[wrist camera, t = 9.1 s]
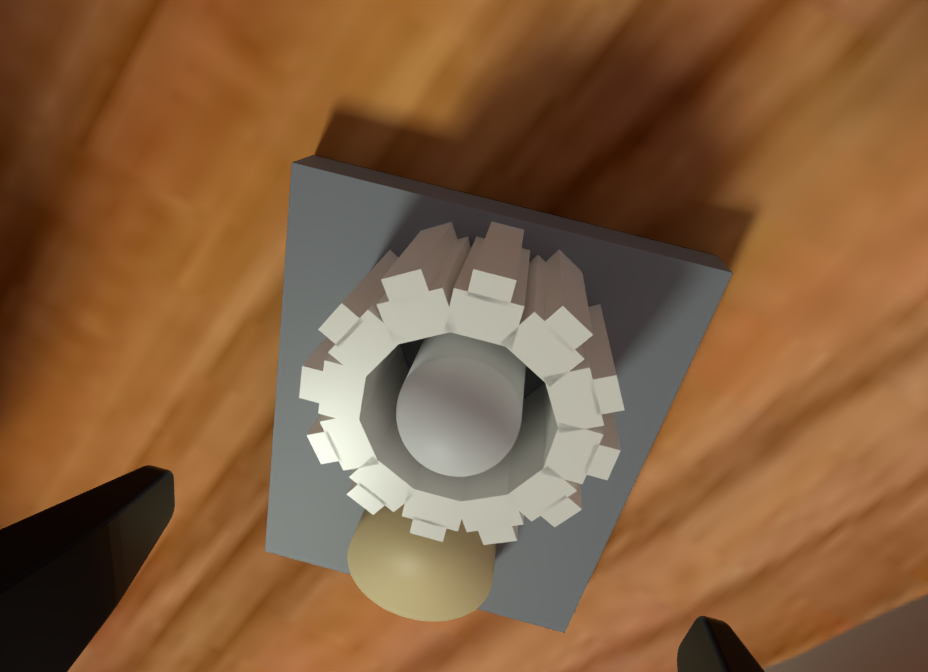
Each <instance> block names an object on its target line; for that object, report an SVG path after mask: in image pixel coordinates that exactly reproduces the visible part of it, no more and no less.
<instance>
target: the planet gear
mask: <svg viewBox="0 0 928 672" xmlns="http://www.w3.org/2000/svg"><path fill="white" fill-rule="evenodd" d="M523 236H524V230H523V229H519V228H516V227H512V226H508V225H504V224H500V223H496V222H491V224H490V227H489V229H488V232H487V235H486V237H485V238H481V237H477V236H476V239H475V241H474V243H473V245H472V248H471V245H470V242H469V238H468V237H464V238H460V239H457V236H456V233H455V230H454V227H453V224H452V222H449V223H446V224H442V225H439V226H435V227H432V228H428V229H424V230H421V231H420V232H419V233H418V235H417V236H416V237H415V238H414V240H413V241H412V242H411V243H410V245H409V246H408V247H407V248H406V249H405V251H404V252H403V253H402V254H401V256H400V257H397V256H396V255H395V254H394V253H393V252H392V251H391V250H389V251H388V252H387V253H386V255H385V256H384V257H383V258H382V259H381V260H380V261H379V262H378V263H377V264H376V266H375V267H374V268H373V269H372V270H371V271H370V272H369V273H368V274H367V276H366V277H365V278H364V279H363V280H362V281H361V282H360V283H359V284H358V285H357V287H356V288H355V289H354V290H353V291H352V292H351V293H350V294H349V295H348V297H347V298H346V299H345V300H344V301H343V302H342V303H341V304H340V305H339V307H338V308H337V309H336V310H335V311H334V312H333V313H332V314H331V316H330V317H329V318H328V319H327V320H326V321H325V322H324V323H323V324H322V326H321V327H320V328H319V329H318V330H319V331H320V332H322V333H323V334H324V335H325V336H326V338H325V339H324V341H323V342H322V343H321V344H320V345H319V346H318V348H317V349H316V350H315V351H314V352H313V354H312V355H311V356H310V357H309V358H308V359H307V361H306V362H305V363H304V364H303V365H302V372H301V383H300V393H299V398H301V399H305V400H309V401H313V402H316V403H319V410H318V414H320V416H319V417H318V419H317V420H316V422H315V423H314V425H313V426H312V428H311V429H310V431H309V432H308V434H307V437H308V439H309V441H310V443H311V445H312V447H313V449H314V451H315V453H316V455H317V457H318V459H319V461H320V463H321V464H325V463H331V462H337V461H339V463H340V465H341V467H342V469H343V471H344V470H350V469H353V470H352V472H351V474H350V476H349V478H350V479H352V480H353V482H352V484H351V486H350V488H349V490H348V492H347V495H348V496H349V497H350V498H352V499H353V500H354V501H356V502H357V503H358V504H360V505H361V506H362V507H363V508H365V509H366V510H367V511H369V512H370V513H371V514H372V515H374V514H375V513H376V512H377V511H379V510H380V509H381V508H382V507H383V506H386V507H388V508H389V509H390V510H391V511H393V512H395V511H396V510H397V509H398V508H400V507H401V506H402V505H403V504H404V508H403V513H402V516H403V517H406V518H410V519H413V521H412V525H411V529H410V533H412V534H415V535H419V536H423V537H426V538H430V539H434V540H437V541H441V542H443V539H444V536H445V532H446V529H450V530H454V531H458V529H459V526H460V523H461V519H462V521H463V524H464V526H465V529H466V531H467V532H472V531H478V532H479V535H480V537H481V540H482V543H483V545H488V544H496V543H504V542H512V541H517V536H518V525H524V516H526V517H527V518H528V519H529V520H530V521H533V520H535V519H536V518H538V517H539V516H541V517H543V518H544V519H545V520H546V521H547V522H549V523H550V524H551V525H552V526H553V527H556V526H558V525H559V524H561V523H562V522H564V521H565V520H567V519H568V518H570V517H571V516H573V515H574V514H576V513H578V512H579V511H581V510H582V502H581V490H580V484H583V482H584V480H585V477H586V475H589V476H593V477H597V478H600V479H604V480H608V478H609V476H610V474H611V471H612V469H613V467H614V465H615V462H616V460H617V458H618V455H619V453H620V451H621V449H620V444H619V439H618V434H617V429H616V424H615V418H614V413H613V412H618V411H624V405H623V401H622V397H621V392H620V388H619V383H618V379H617V375H616V370H615V366H614V361H613V357H612V353H611V348H610V344H609V340H608V335H607V331H606V326H605V322H604V318H603V313H602V309H601V305H600V304H599V305H594V306H590V307H588V302H587V296H586V291H585V285H584V279H583V273H582V271H581V270H580V269H579V268H578V267H577V266H576V265H575V264H574V263H573V262H572V261H571V260H570V259H569V258H568V257H567V256H566V255H565V254H563V253H562V252H561V251H560V250H558V251H557V252H556V253H555V254H554V255H552V256H551V257H550V258H549V259H548V260H547V261H546V262H545V261H544V260H543V259H542V258H541V257H540V256H539V255H537V256H536V257H534V258H533V259H532V260H531V261H530V262H529V258H530V250H527V249H524V248H522V242H523ZM449 332H452V333H456V334H459V335H463V336H467V337H471V338H475V339H478V340H482V341H486V342H490V343H494V344H497V345H501V346H505V347H506V348H508V349H509V350H510V351H511V352H512V353H513V354H514V355H515V356H516V357H517V358H519V359H520V360H521V361H522V362H523V363H524V364H525V365H526V366H527V367H528V368H530V369H531V370H532V371H533V372H534V373H535V374H536V375H537V376H538V377H539V378H541V379H542V380H543V381H544V384H542V385H541V386H540V387H539V388H537V389H536V390H535V391H534V392H532V393H531V394H530V395H529V396H527V397H526V398H525V399H524V400H523V409H522V422H521V427H520V431H519V434H518V437H517V439H516V441H515V443H514V445H513V447H512V448H511V450H510V451H509V452H508V454H507V455H506V456H505V457H504V458H503V459H502V460H501V461H500V462H499V463H498V464H496V465H495V466H493V467H492V468H490V469H488V470H486V471H484V472H482V473H479V474H476V475H472V476H466V477H453V476H447V475H442V474H439V473H436V472H434V471H432V470H430V469H428V468H426V467H425V466H423V465H422V464H420V463H419V462H418V461H417V460H416V459H415V458H414V457H413V456H412V455H411V454H410V452H409V451H408V450H407V448H406V447H405V445H404V443H403V441H402V439H401V436H400V434H399V431H398V426H397V420H396V408H397V400H398V397H399V393H400V390H401V388H402V386H403V383H404V381H405V379H406V377H407V375H408V373H409V371H410V369H409V367H408V364H407V362H406V359H405V357H404V354H403V352H402V349H401V346H400V344H402V343H406V342H410V341H415V340H419V339H423V338H428V337H432V336H436V335H441V334H445V333H449Z"/></svg>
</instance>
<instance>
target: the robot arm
mask: <svg viewBox="0 0 928 672" xmlns="http://www.w3.org/2000/svg"><path fill="white" fill-rule="evenodd" d="M174 507H175V499H174V477H173V474H172V472H171V471H169V470H167V469H163V468H159V467H155V466H151V465H148V466H144V467H141V468H139V469H136V470H134V471H132V472H130V473H127V474H125V475H123V476H121V477H118V478H116V479H114V480H112V481H109V482H107V483H105V484H102V485H100V486H98V487H96V488H93V489H91V490H89V491H87V492H84V493H82V494H80V495H78V496H75V497H73V498H71V499H69V500H66V501H64V502H62V503H60V504H57V505H55V506H53V507H50V508H48V509H46V510H44V511H41V512H39V513H37V514H35V515H32V516H30V517H28V518H26V519H23V520H21V521H19V522H17V523H14V524H12V525H10V526H8V527H5V528H3V529H1V530H0V672H67V671H68V670H69V669H70V667H71V666H72V665H73V663H74V662H75V661H76V659H77V658H78V657H79V655H80V654H81V653H82V651H83V650H84V649H85V648H86V646H87V645H88V644H89V642H90V641H91V640H92V638H93V637H94V636H95V634H96V633H97V632H98V630H99V629H100V628H101V626H102V625H103V624H104V623H105V621H106V620H107V619H108V617H109V616H110V614H111V613H112V612H113V610H114V609H115V608H116V606H117V605H118V603H119V602H120V600H121V599H122V597H123V596H124V594H125V592H126V591H127V589H128V588H129V586H130V584H131V583H132V581H133V580H134V578H135V576H136V575H137V573H138V572H139V570H140V568H141V567H142V565H143V563H144V562H145V560H146V559H147V557H148V555H149V554H150V552H151V550H152V549H153V547H154V546H155V544H156V542H157V541H158V539H159V537H160V536H161V534H162V533H163V531H164V529H165V528H166V526H167V524H168V523H169V521H170V519H171V517H172V515H173V512H174ZM677 667H678V672H764V670H763V669H762V668H761V666H760V665H759V664H758V662H757V661H756V660H755V658H754V657H753V656H752V655H751V653H750V652H749V651H748V649H747V648H746V647H745V645H744V644H743V643H742V642H741V640H740V639H739V638H738V636H737V635H736V634H735V632H734V631H733V630H732V629H731V627H730V626H729V625H728V624H727V623H725V622H723V621H721V620H717V619H714V618H710V617H706V616H700V617H698V618H697V619H696V620H695V622H694V623H693V625H692V626H691V628H690V630H689V631H688V633H687V634H686V636H685V638H684V639H683V641H682V642H681V644H680V646H679V649H678V654H677Z"/></svg>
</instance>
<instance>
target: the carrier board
mask: <svg viewBox="0 0 928 672" xmlns="http://www.w3.org/2000/svg"><path fill="white" fill-rule="evenodd" d="M449 222H452V224H453V227H454V230H455V233H456V236H457V239H460V238H464V237H468V238H469V242H470V245H471V248H472V245H473V243H474V241H475V239H476V236H477V237H481V238H485V237H486V235H487V232H488V229H489V227H490V224H491V222H496V223H500V224H504V225H508V226H512V227H516V228H519V229H523V230H524V236H523V242H522V248H524V249H527V250H530V258H529V262H530V261H531V260H532V259H533V258H534V257H536V256H537V255H539V256H540V257H541V258H542V259H543V260H544V261H545V262H546V261H547V260H548V259H549V258H550V257H551V256H552V255H554V254H555V253H556V252H557V251H558V250H560V251H561V252H562V253H563V254H565V255H566V256H567V257H568V258H569V259H570V260H571V261H572V262H573V263H574V264H575V265H576V266H577V267H578V268H579V269H580V270H581V271H582V273H583V279H584V285H585V291H586V296H587V302H588V307H590V306H594V305H599V304H600V305H601V309H602V313H603V318H604V322H605V326H606V331H607V335H608V340H609V344H610V348H611V353H612V357H613V361H614V366H615V370H616V375H617V379H618V383H619V388H620V392H621V397H622V401H623V405H624V411H618V412H613V413H614V418H615V424H616V429H617V434H618V439H619V444H620V449H621V451H620V453H619V455H618V458H617V460H616V462H615V465H614V467H613V469H612V471H611V474H610V476H609V478H608V480H604V479H600V478H597V477H593V476H589V475H586V477H585V480H584V482H583V484H580V490H581V502H582V510H581V511H579V512H578V513H576V514H574V515H573V516H571V517H570V518H568V519H567V520H565V521H564V522H562V523H561V524H559V525H558V526H556V527H553V526H552V525H551V524H550V523H549V522H547V521H546V520H545V519H544V518H543V517H541V516H539V517H538V518H536V519H535V520H533V521H530V520H529V519H528V518H527V517H526V516H524V525H518V536H517V541H512V542H504V543H496V544H488V545H483V543H482V540H481V537H480V535H479V532H478V531H472V532H467V531H466V529H465V526H464V524H463V521H462V519H461V523H460V526H459V529H458V531H454V530H450V529H446V532H445V536H444V539H443V542H441V541H437V540H434V539H430V538H426V537H423V536H419V535H415V534H412V533H410V529H411V525H412V521H413V519H410V518H406V517H403V516H402V513H403V508H404V504H403V505H402V506H401V507H400V508H398V509H397V510H396V511H395V512H393V511H391V510H390V509H389V508H388V507H386V506H383V507H382V508H381V509H380V510H379V511H377V512H376V513H375V514H374V515H372V514H371V513H370V512H369V511H367V510H366V509H365V508H363V507H362V506H361V505H360V504H358V503H357V502H356V501H354V500H353V499H352V498H350V497H349V496H348V495H347V492H348V490H349V488H350V486H351V484H352V482H353V480H352V479H350V478H349V476H350V474H351V472H352V470H353V469H350V470H344V471H343V469H342V467H341V465H340V463H339V461H337V462H331V463H325V464H321V463H320V461H319V459H318V457H317V455H316V453H315V451H314V449H313V447H312V445H311V443H310V441H309V439H308V437H307V434H308V432H309V431H310V429H311V428H312V426H313V425H314V423H315V422H316V420H317V419H318V417H319V416H320V414H318V410H319V403H316V402H313V401H309V400H305V399H301V398H299V393H300V383H301V372H302V365H303V364H304V363H305V362H306V361H307V359H308V358H309V357H310V356H311V355H312V354H313V352H314V351H315V350H316V349H317V348H318V346H319V345H320V344H321V343H322V342H323V341H324V339H325V338H326V336H325V335H324V334H323V333H322V332H320V331H319V330H318V329H319V328H320V327H321V326H322V324H323V323H324V322H325V321H326V320H327V319H328V318H329V317H330V316H331V314H332V313H333V312H334V311H335V310H336V309H337V308H338V307H339V305H340V304H341V303H342V302H343V301H344V300H345V299H346V298H347V297H348V295H349V294H350V293H351V292H352V291H353V290H354V289H355V288H356V287H357V285H358V284H359V283H360V282H361V281H362V280H363V279H364V278H365V277H366V276H367V274H368V273H369V272H370V271H371V270H372V269H373V268H374V267H375V266H376V264H377V263H378V262H379V261H380V260H381V259H382V258H383V257H384V256H385V255H386V253H387V252H388V251H389V250H391V251H392V252H393V253H394V254H395V255H396V256H397V257H400V256H401V254H402V253H403V252H404V251H405V249H406V248H407V247H408V246H409V245H410V243H411V242H412V241H413V240H414V238H415V237H416V236H417V235H418V233H419V232H420V231H421V230H424V229H428V228H432V227H435V226H439V225H442V224H446V223H449ZM732 274H733V273H732V271H731V270H730V269H729V268H728V267H727V266H726V265H725V264H724V263H723V262H722V261H721V260H720V259H719V258H718V256H715V255H711V254H707V253H703V252H699V251H695V250H691V249H687V248H683V247H679V246H675V245H671V244H667V243H663V242H659V241H655V240H651V239H647V238H643V237H639V236H635V235H631V234H627V233H623V232H619V231H615V230H611V229H607V228H603V227H599V226H595V225H591V224H587V223H583V222H579V221H575V220H571V219H567V218H563V217H559V216H555V215H551V214H547V213H543V212H539V211H535V210H531V209H527V208H523V207H519V206H515V205H511V204H507V203H503V202H499V201H495V200H491V199H487V198H483V197H479V196H475V195H471V194H467V193H463V192H459V191H455V190H451V189H447V188H443V187H439V186H435V185H431V184H427V183H423V182H419V181H415V180H411V179H407V178H403V177H399V176H395V175H391V174H387V173H383V172H379V171H375V170H371V169H367V168H363V167H359V166H355V165H351V164H347V163H343V162H339V161H335V160H331V159H327V158H323V157H319V156H315V155H312V156H309V157H306V158H303V159H301V160H298V161H295V162H292V168H291V182H290V197H289V212H288V226H287V241H286V255H285V270H284V284H283V299H282V314H281V328H280V343H279V357H278V372H277V387H276V401H275V416H274V430H273V445H272V459H271V474H270V489H269V503H268V518H267V532H266V547H265V551H266V552H270V553H274V554H277V555H281V556H285V557H288V558H292V559H296V560H299V561H303V562H307V563H310V564H314V565H318V566H321V567H325V568H329V569H332V570H336V571H340V572H343V573H347V574H351V576H352V578H353V580H354V581H355V583H356V585H357V586H358V587H359V588H360V590H361V591H362V592H363V593H364V594H365V595H366V596H367V597H368V598H369V599H371V600H372V601H373V602H374V603H376V604H377V605H379V606H381V607H382V608H384V609H386V610H388V611H390V612H392V613H394V614H397V615H399V616H403V617H406V618H410V619H414V620H420V621H433V622H434V621H447V620H452V619H456V618H460V617H462V616H465V615H467V614H469V613H471V612H473V611H474V610H475V609H479V610H483V611H486V612H490V613H494V614H497V615H501V616H505V617H508V618H512V619H516V620H519V621H523V622H527V623H530V624H534V625H538V626H541V627H545V628H549V629H552V630H556V631H560V632H563V633H565V631H566V629H567V626H568V624H569V622H570V620H571V618H572V616H573V614H574V611H575V609H576V607H577V605H578V603H579V601H580V599H581V597H582V594H583V592H584V590H585V588H586V586H587V584H588V582H589V579H590V577H591V575H592V573H593V571H594V569H595V567H596V564H597V562H598V560H599V558H600V556H601V554H602V552H603V549H604V547H605V545H606V543H607V541H608V539H609V537H610V535H611V532H612V530H613V528H614V526H615V524H616V522H617V520H618V517H619V515H620V513H621V511H622V509H623V507H624V505H625V502H626V500H627V498H628V496H629V494H630V492H631V490H632V487H633V485H634V483H635V481H636V479H637V477H638V475H639V472H640V470H641V468H642V466H643V464H644V462H645V460H646V458H647V455H648V453H649V451H650V449H651V447H652V445H653V443H654V440H655V438H656V436H657V434H658V432H659V430H660V428H661V425H662V423H663V421H664V419H665V417H666V415H667V413H668V410H669V408H670V406H671V404H672V402H673V400H674V398H675V396H676V393H677V391H678V389H679V387H680V385H681V383H682V381H683V378H684V376H685V374H686V372H687V370H688V368H689V366H690V363H691V361H692V359H693V357H694V355H695V353H696V351H697V348H698V346H699V344H700V342H701V340H702V338H703V336H704V333H705V331H706V329H707V327H708V325H709V323H710V321H711V319H712V316H713V314H714V312H715V310H716V308H717V306H718V304H719V301H720V299H721V297H722V295H723V293H724V291H725V289H726V286H727V284H728V282H729V280H730V278H731V276H732ZM400 346H401V349H402V352H403V354H404V357H405V359H406V362H407V364H408V367H409V369H410V371H409V373H408V375H407V377H406V379H405V381H404V383H403V386H402V388H401V390H400V393H399V397H398V400H397V408H396V420H397V426H398V431H399V434H400V436H401V439H402V441H403V443H404V445H405V447H406V448H407V450H408V451H409V452H410V454H411V455H412V456H413V457H414V458H415V459H416V460H417V461H418V462H419V463H420V464H422V465H423V466H425V467H426V468H428V469H430V470H432V471H434V472H436V473H439V474H442V475H447V476H453V477H466V476H472V475H476V474H479V473H482V472H484V471H486V470H488V469H490V468H492V467H493V466H495V465H496V464H498V463H499V462H500V461H501V460H502V459H503V458H504V457H505V456H506V455H507V454H508V452H509V451H510V450H511V448H512V447H513V445H514V443H515V441H516V439H517V437H518V434H519V431H520V427H521V422H522V409H523V400H524V399H525V398H526V397H527V396H529V395H530V394H531V393H532V392H534V391H535V390H536V389H537V388H539V387H540V386H541V385H542V384H544V381H543V380H542V379H541V378H539V377H538V376H537V375H536V374H535V373H534V372H533V371H532V370H531V369H530V368H528V367H527V366H526V365H525V364H524V363H523V362H522V361H521V360H520V359H519V358H517V357H516V356H515V355H514V354H513V353H512V352H511V351H510V350H509V349H508V348H506V347H505V346H501V345H497V344H494V343H490V342H486V341H482V340H478V339H475V338H471V337H467V336H463V335H459V334H456V333H452V332H449V333H445V334H441V335H436V336H432V337H428V338H423V339H419V340H415V341H410V342H406V343H402V344H400Z"/></svg>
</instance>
